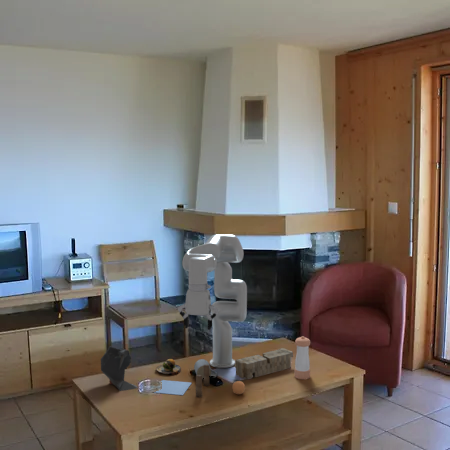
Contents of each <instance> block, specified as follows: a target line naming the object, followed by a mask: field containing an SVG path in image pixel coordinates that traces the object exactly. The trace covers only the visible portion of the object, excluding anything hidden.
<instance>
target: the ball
mask: <svg viewBox="0 0 450 450" xmlns="http://www.w3.org/2000/svg"><path fill="white" fill-rule="evenodd" d="M245 390H246V385H245V384H244V382H243V381H240V380H236V381H235V382H233V384H232V391H233V393H234V394H235V395H242V394H243V393H244V392H245Z"/></svg>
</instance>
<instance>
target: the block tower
mask: <svg viewBox="0 0 450 450" xmlns="http://www.w3.org/2000/svg"><path fill="white" fill-rule="evenodd" d="M293 357H294V352H293V351H292V350H289V349H286V348H284V347H281V348H279V349H276V350H271V351H266V352H263V353H262V355H260V354H256V355H251V356H246V357H242V358H239V359H234V360H235V365H234V366H235V376H237V377H239V378H241V379H246V380H250V379H253V377H254V378H257V377H261V376H265V375H269V374H272V373H277V372H280V371H281V372H282V371H284V370H287V369H291V367H292V365H291V364H292V361H291V360H292V359H291V358H293Z"/></svg>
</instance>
